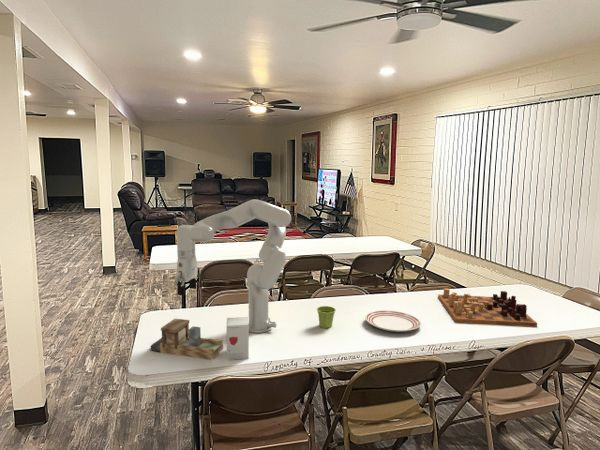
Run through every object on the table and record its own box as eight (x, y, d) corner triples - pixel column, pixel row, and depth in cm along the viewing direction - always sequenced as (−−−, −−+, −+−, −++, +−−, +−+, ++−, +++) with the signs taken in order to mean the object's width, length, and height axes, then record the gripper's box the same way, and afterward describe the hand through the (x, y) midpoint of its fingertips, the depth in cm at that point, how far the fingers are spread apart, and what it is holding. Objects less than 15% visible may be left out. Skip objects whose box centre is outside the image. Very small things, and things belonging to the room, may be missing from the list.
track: (223, 348, 184) (223, 324, 183) (212, 360, 174) (211, 334, 172) (164, 341, 191) (163, 317, 189) (150, 351, 180) (149, 326, 179)
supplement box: (226, 360, 174) (226, 325, 172) (226, 350, 183) (226, 317, 180) (249, 359, 176) (249, 324, 173) (248, 349, 184) (247, 316, 182)
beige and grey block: (202, 342, 184) (201, 326, 182) (195, 348, 178) (195, 331, 177) (173, 339, 187) (172, 322, 186) (165, 344, 181) (165, 327, 180)
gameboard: (438, 298, 258) (439, 283, 257) (506, 301, 255) (508, 286, 253) (455, 323, 219) (456, 306, 218) (536, 327, 215) (538, 310, 214)
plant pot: (337, 324, 214) (338, 307, 212) (331, 331, 205) (331, 313, 204) (320, 321, 218) (321, 304, 216) (313, 327, 209) (313, 310, 208)
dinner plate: (397, 312, 233) (397, 306, 232) (432, 330, 208) (433, 324, 208) (354, 319, 221) (354, 313, 220) (386, 340, 196) (387, 333, 196)
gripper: (183, 258, 176) (183, 298, 178) (204, 250, 192) (204, 287, 195) (167, 257, 178) (168, 296, 180) (189, 249, 194) (189, 285, 197)
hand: (187, 291), depth 188 cm, fingers open, 9 cm apart
